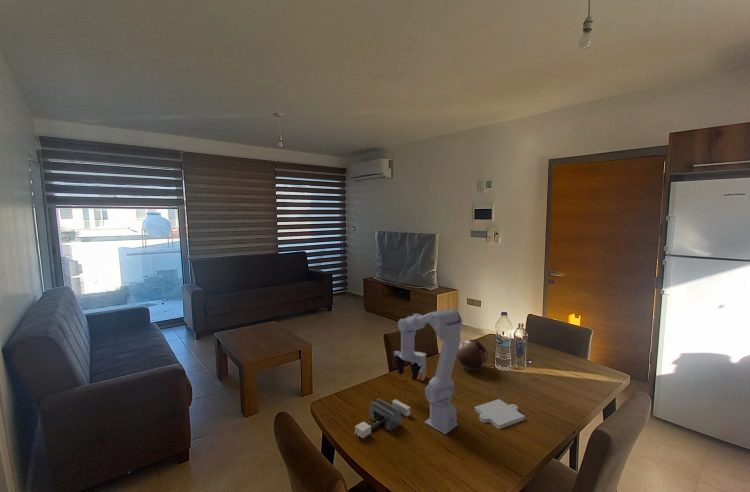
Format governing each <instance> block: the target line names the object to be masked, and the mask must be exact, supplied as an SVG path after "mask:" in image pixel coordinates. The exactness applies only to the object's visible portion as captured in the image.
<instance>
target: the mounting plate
mask: <svg viewBox="0 0 750 492" xmlns="http://www.w3.org/2000/svg"><path fill="white" fill-rule="evenodd" d="M474 411H475V412H476V413H477V414H478V415H479V417H478V418H479V421H480V422H482V423H483V424H485V423H490V424H492V425H493V426H494V427H495V428H497V429H498V430H500V429H503V428H506V427H510V426H512V425H515V424H517V423H519V422H522V421H525V420H526V419H525V418H526V416H525V415H524V414H522V413H521V412H519V407H518V405H516V404H513V403H510V404H508V403H506V402H504V401H503V400H501V399H500V398H498V399H494V400H492V401H488V402H485V403H482V404H479V405H477V406H474Z"/></svg>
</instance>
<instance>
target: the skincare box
mask: <svg viewBox="0 0 750 492" xmlns="http://www.w3.org/2000/svg"><path fill="white" fill-rule="evenodd" d="M415 356H416V357H418V358H419V359H420V360H423V365H422V367H421V368H420V370H419V373H418V376H417V380H419V379H420V380H419V381H424V380H425V379H426V378H425V377H427V353H426V352H421V351H415ZM412 364H414V363H412V362H411V365H412Z"/></svg>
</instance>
